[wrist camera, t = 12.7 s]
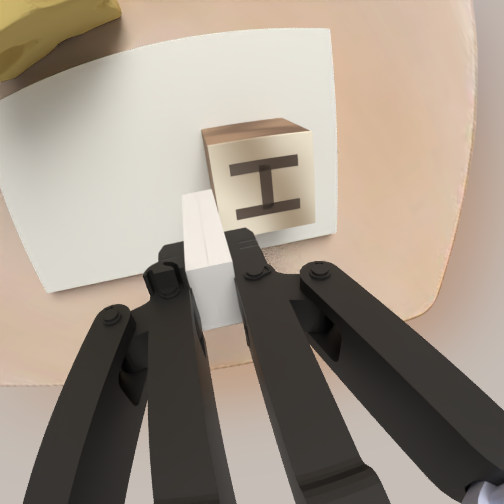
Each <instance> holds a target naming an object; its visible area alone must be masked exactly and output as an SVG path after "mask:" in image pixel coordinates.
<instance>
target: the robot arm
mask: <svg viewBox="0 0 504 504" xmlns="http://www.w3.org/2000/svg"><path fill="white" fill-rule="evenodd" d="M182 213H183V237H184V241H181V242H176V243H172V244H167V245H164V246H163V247H162V248H161V250H160V251H159V253H158V262H156V263H154V264H153V265H151V266H149V267H148V268H147V269H146V270H145V272H144V274H143V278H144V281H145V283H146V286H147V289H148V291H149V294H150V301H148V302H147V303H146V304H144V305H142V306H141V307H138V308H136V309H134V310H132V311H130V310H129V308H128V307H127V306H125V305H122V304H116V305H111V306H109V307H106V308H104V309H103V310H102V311H101V312H99V314H98V315H97V316H96V318H95V320H94V322H93V324H92V326H91V328H90V330H89V332H88V334H87V336H86V338H85V340H84V342H83V344H82V346H81V348H80V350H79V353H78V355H77V357H76V359H75V361H74V363H73V366H72V368H71V370H70V372H69V375H68V377H67V379H66V382H65V384H64V386H63V389H62V391H61V393H60V396H59V398H58V401H57V403H56V406H55V408H54V411H53V413H52V416H51V418H50V421H49V424H48V426H47V429H46V432H45V434H44V437H43V440H42V443H41V446H40V449H39V452H38V455H37V458H36V461H35V464H34V467H33V470H32V473H31V477H30V480H29V483H28V487H27V490H26V494H25V498H24V501H23V504H124V503H125V498H126V492H127V487H128V482H129V477H130V473H131V468H132V463H133V459H134V454H135V450H136V445H137V441H138V437H139V432H140V428H141V424H142V420H143V415H144V411H145V407H146V403H147V400H148V426H149V448H150V464H151V475H152V488H153V498H154V504H237V503H236V500H235V495H234V491H233V486H232V482H231V477H230V473H229V468H228V464H227V459H226V454H225V450H224V444H223V439H222V435H221V429H220V424H219V419H218V413H217V408H216V402H215V397H214V392H213V385H212V379H211V374H210V367H209V361H208V355H207V348H206V342H205V338H204V335H203V332H202V329H203V331H205V330H210V329H214V328H219V327H224V326H229V325H233V324H238V323H242V322H243V324H244V329H245V334H246V340H247V345H248V346H249V348H250V352H251V356H252V359H253V363H254V366H255V370H256V373H257V377H258V380H259V384H260V387H261V391H262V394H263V397H264V401H265V404H266V408H267V411H268V415H269V418H270V422H271V425H272V428H273V432H274V435H275V438H276V442H277V445H278V448H279V451H280V455H281V458H282V461H283V464H284V468H285V471H286V474H287V478H288V481H289V484H290V487H291V490H292V493H293V496H294V500H295V502H296V504H391V503H390V501H389V499H388V497H387V494H386V492H385V490H384V488H383V485H382V483H381V481H380V479H379V477H378V476H377V474H376V473H375V471H374V470H373V469H372V468H371V467H369V466H367V465H366V464H365V463H364V462H363V461H362V459H361V457H360V455H359V453H358V451H357V449H356V446H355V444H354V442H353V440H352V437H351V435H350V433H349V431H348V428H347V426H346V424H345V422H344V419H343V417H342V415H341V413H340V411H339V408H338V406H337V404H336V402H335V399H334V398H333V395H332V393H331V391H330V389H329V386H328V384H327V382H326V380H325V377H324V375H323V373H322V371H321V369H320V366H319V364H318V362H317V360H316V358H315V355H314V353H313V351H312V349H311V347H310V345H311V346H312V347H313V348H314V350H315V351H316V352H317V353H318V354H319V355H320V356H321V358H322V359H323V360H324V361H325V362H326V363H327V365H328V366H329V367H330V368H331V369H332V370H333V372H334V373H336V375H337V376H338V377H339V378H340V380H341V381H342V382H343V383H344V384H345V385H346V386H347V388H348V389H349V390H350V391H351V392H352V393H353V394H354V396H355V397H356V398H357V399H358V400H359V401H360V402H361V403H362V405H363V406H364V407H365V408H366V409H367V410H368V411H369V412H370V414H371V415H372V416H373V417H374V418H375V419H376V421H378V423H379V424H380V425H381V426H382V427H383V428H384V429H385V431H386V432H387V433H388V434H389V435H390V436H391V437H392V438H393V439H394V441H395V442H396V443H397V444H398V445H399V446H400V447H401V449H402V450H403V451H404V452H405V453H406V454H407V455H408V456H409V457H410V459H411V460H412V461H413V462H414V463H415V464H416V465H417V466H418V467H419V468H420V470H421V471H422V472H423V473H424V474H425V475H426V476H427V477H428V478H429V479H430V480H431V481H432V482H433V483H434V484H435V485H436V486H437V487H438V488H439V489H440V490H441V491H442V492H444V493H445V494H447V495H448V496H449V497H451V498H452V499H454V500H456V501H458V502H460V503H461V504H504V410H503V409H502V408H500V407H499V406H498V405H497V404H496V403H495V402H494V401H493V400H492V399H491V398H490V397H489V396H488V395H487V394H485V393H484V392H483V391H482V390H481V389H480V388H479V387H478V386H477V385H476V384H474V383H473V382H472V381H471V380H470V379H469V378H468V377H467V376H466V375H465V374H464V373H462V372H461V371H460V370H459V369H458V368H457V367H456V366H454V364H452V363H451V362H450V361H449V360H448V359H447V358H446V357H444V356H443V355H442V354H441V353H440V352H439V351H438V350H437V349H435V348H434V347H433V346H432V345H431V344H430V343H428V342H427V341H426V340H425V339H424V338H423V337H422V336H420V335H419V334H418V333H417V332H416V331H414V330H413V329H412V328H411V327H410V326H409V325H407V324H406V323H405V322H404V321H403V320H402V319H400V318H399V317H398V316H397V315H396V314H394V313H393V312H392V311H391V310H390V309H388V308H387V307H386V306H385V305H384V304H382V303H381V302H380V301H379V300H378V299H376V298H375V297H374V296H373V295H372V294H370V293H369V292H368V291H367V290H365V289H364V288H363V287H362V286H361V285H359V284H358V283H357V282H356V281H354V280H353V279H352V278H351V277H349V276H348V275H347V274H346V273H344V272H343V271H342V270H341V269H339V268H338V267H337V266H335V265H334V264H332V263H330V262H325V261H314V262H310V263H308V264H306V265H304V266H303V267H302V268H301V270H300V274H283V273H278V272H276V271H275V269H274V268H273V267H272V266H271V265H269V264H267V262H266V260H265V257H264V255H263V253H262V251H261V249H260V246H259V245H258V242H257V240H256V238H255V236H254V233H253V232H252V231H250V230H249V229H247V228H246V227H245V228H240V229H235V230H230V231H225V232H224V231H223V227H222V224H221V220H220V217H219V213H218V210H217V206H216V203H215V199H214V196H213V192H212V189H209V190H204V191H199V192H194V193H189V194H185V195H182Z"/></svg>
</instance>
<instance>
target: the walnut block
mask: <svg viewBox="0 0 504 504" xmlns="http://www.w3.org/2000/svg"><path fill="white" fill-rule="evenodd" d="M201 132H202V138H203V144H204V150H205V156H206V162H207V168H208V174H209V180H210V185H211V189H212V192H213V196H214V199H215V203H216V206H217V210H218V213H219V217H220V220H221V224H222V227H223V231H224V232H225V231H230V230H235V229H240V228H245V227H246V228H247V229H249V230H250V231H252V232H253V233H254V235H257V234H262V233H267V232H272V231H277V230H282V229H287V228H292V227H297V226H302V225H307V224H312V223H315V181H314V153H313V133H312V131H310V130H308V129H306V128H303V127H301V126H299V125H297V124H295V123H293V122H290V121H288V120H286V119H284V118H274V119H266V120H258V121H250V122H243V123H237V124H230V125H224V126H218V127H212V128H206V129H201Z"/></svg>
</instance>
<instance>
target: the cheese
mask: <svg viewBox="0 0 504 504" xmlns="http://www.w3.org/2000/svg"><path fill="white" fill-rule="evenodd" d="M120 16H121V9H120V6H119V4H118V2H117V0H0V82H2V81H6V80H10V79H14V78H16V77H17V76H19V75H20V74H21V73H23V72H24V71H25V70H27V69H28V68H29V67H31V66H32V65H33V64H35V63H36V62H38V61H39V60H40V59H42V58H43V57H45V56H46V55H47V54H49V53H50V52H51V51H52V50H53V49H54V48H55V47H56V46H57V45H58V44H59V43H60V42H62V41H64V40H65V39H68V38H70V37H73V36H78V35H81V34H83V33H85V32H87V31H89V30H91V29H93V28H95V27H98V26H100V25H102V24H105V23H107V22H109V21H112V20H114V19H117V18H119V17H120Z"/></svg>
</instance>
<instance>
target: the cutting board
mask: <svg viewBox="0 0 504 504" xmlns="http://www.w3.org/2000/svg"><path fill="white" fill-rule="evenodd" d="M274 118H284V119H286V120H288V121H290V122H293V123H295V124H297V125H299V126H301V127H303V128H306V129H308V130H310V131H312V133H313V153H314V181H315V223H312V224H307V225H302V226H297V227H292V228H287V229H282V230H277V231H272V232H267V233H262V234H257V235H254V236H255V238H256V240H257V242H258V245H259V246H260V249H261V248H266V247H271V246H275V245H280V244H285V243H290V242H295V241H299V240H304V239H309V238H314V237H319V236H323V235H328V234H333V233H337V125H336V102H335V85H334V70H333V58H332V47H331V36H330V29H323V28H271V29H253V30H240V31H229V32H220V33H212V34H205V35H198V36H192V37H186V38H180V39H175V40H169V41H165V42H160V43H155V44H151V45H146V46H142V47H138V48H134V49H130V50H127V51H123V52H119V53H116V54H112V55H109V56H106V57H102V58H99V59H96V60H93V61H90V62H87V63H84V64H81V65H79V66H76V67H73V68H70V69H68V70H65V71H62V72H60V73H57V74H55V75H52V76H50V77H48V78H45V79H43V80H41V81H38V82H36V83H34V84H32V85H29V86H27V87H25V88H23V89H21V90H19V91H17V92H15V93H13V94H11V95H9V96H7V97H5V98H3V99H1V100H0V188H1V191H2V194H3V197H4V199H5V202H6V205H7V207H8V210H9V213H10V215H11V218H12V220H13V223H14V225H15V227H16V230H17V232H18V235H19V237H20V239H21V241H22V244H23V246H24V248H25V250H26V252H27V255H28V257H29V259H30V261H31V263H32V265H33V267H34V269H35V271H36V273H37V275H38V277H39V279H40V281H41V283H42V285H43V286H44V288H45V290H46V292H47V293H52V292H57V291H61V290H66V289H71V288H75V287H80V286H85V285H90V284H94V283H99V282H104V281H109V280H113V279H118V278H123V277H128V276H132V275H137V274H142V273H144V272H145V270H146V269H147V268H148V267H149V266H151V265H153V264H154V263H156V262H158V253H159V251H160V250H161V248H162V247H163V246H164V245H167V244H172V243H176V242H181V241H184V237H183V213H182V195H185V194H189V193H194V192H199V191H204V190H209V189H211V185H210V180H209V174H208V168H207V162H206V156H205V150H204V144H203V138H202V132H201V129H206V128H212V127H218V126H224V125H230V124H237V123H243V122H250V121H258V120H266V119H274Z"/></svg>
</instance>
